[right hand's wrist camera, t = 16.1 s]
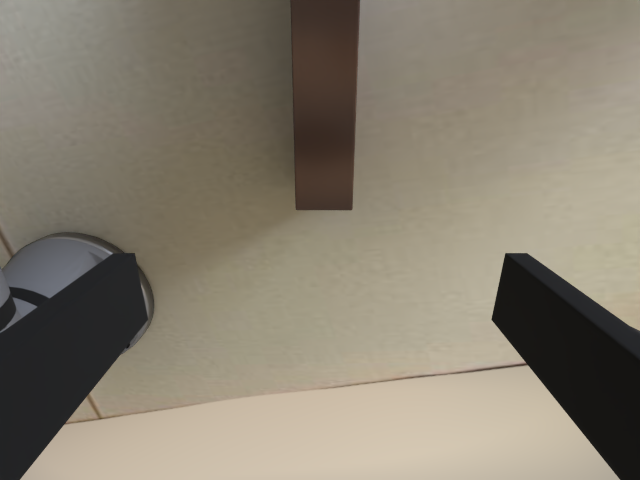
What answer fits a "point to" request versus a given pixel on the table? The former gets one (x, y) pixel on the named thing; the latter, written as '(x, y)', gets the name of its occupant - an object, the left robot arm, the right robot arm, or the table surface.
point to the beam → (324, 101)
